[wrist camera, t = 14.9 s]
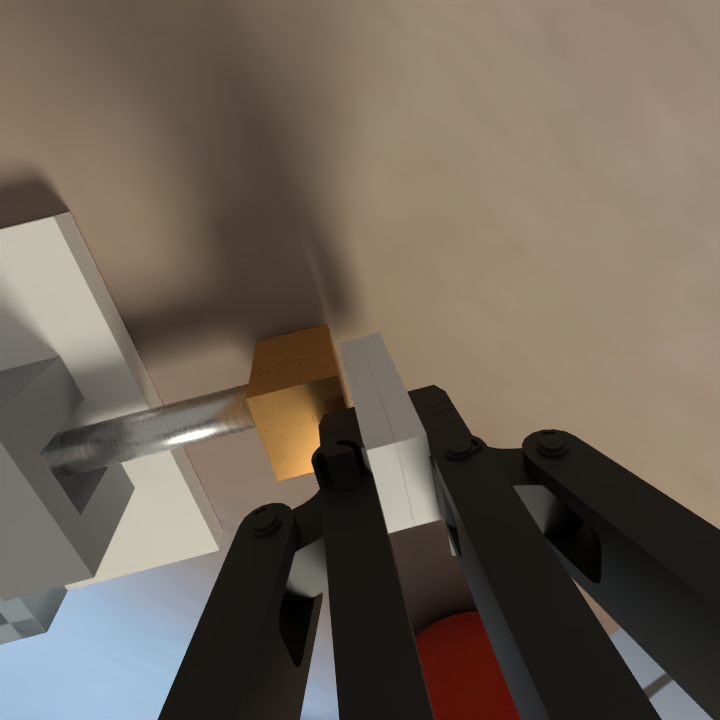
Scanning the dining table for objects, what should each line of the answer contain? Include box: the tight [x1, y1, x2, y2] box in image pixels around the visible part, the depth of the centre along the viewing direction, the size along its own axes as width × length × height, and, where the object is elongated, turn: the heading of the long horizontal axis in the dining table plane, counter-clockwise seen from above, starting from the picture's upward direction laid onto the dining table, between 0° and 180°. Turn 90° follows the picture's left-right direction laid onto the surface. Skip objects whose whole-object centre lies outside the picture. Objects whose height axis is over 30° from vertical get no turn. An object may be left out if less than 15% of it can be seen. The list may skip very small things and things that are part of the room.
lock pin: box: [40, 324, 350, 481], centre depth 16 cm, size 11×3×4 cm, turn 102°
